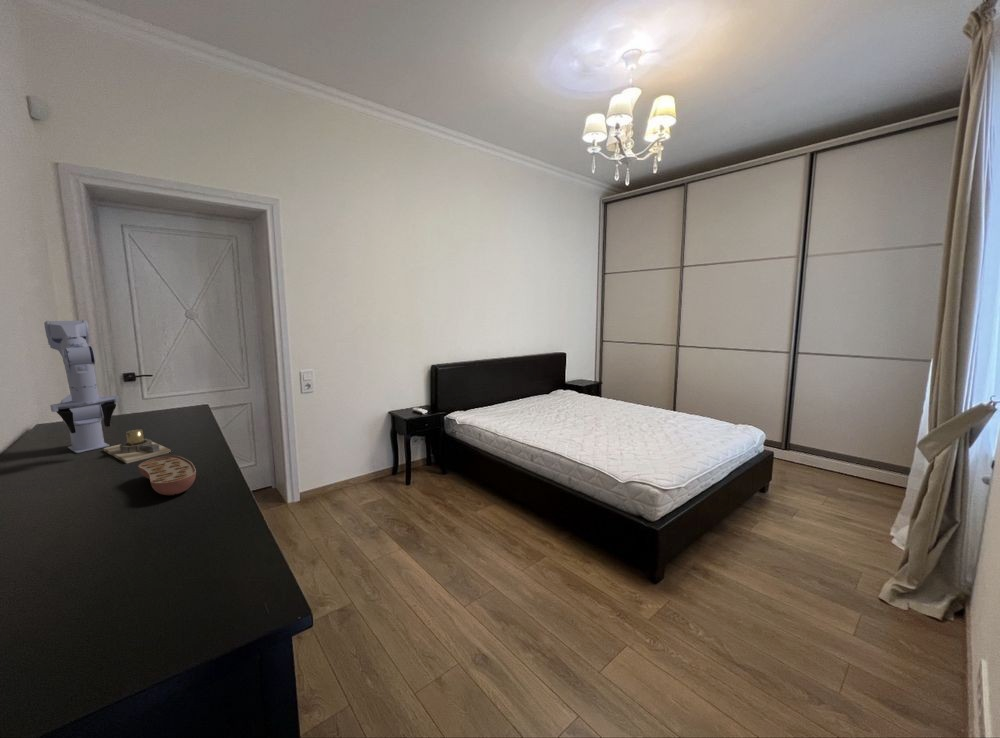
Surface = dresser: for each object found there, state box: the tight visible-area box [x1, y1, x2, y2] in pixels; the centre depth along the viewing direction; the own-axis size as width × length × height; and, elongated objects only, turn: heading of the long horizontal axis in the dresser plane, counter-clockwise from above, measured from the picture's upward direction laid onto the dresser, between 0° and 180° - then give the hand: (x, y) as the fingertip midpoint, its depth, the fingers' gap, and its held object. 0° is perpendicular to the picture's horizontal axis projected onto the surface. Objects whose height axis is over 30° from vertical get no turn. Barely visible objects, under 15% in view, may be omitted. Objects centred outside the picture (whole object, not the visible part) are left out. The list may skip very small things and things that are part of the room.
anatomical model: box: [138, 455, 197, 496], centre depth 106 cm, size 23×10×5 cm, turn 51°
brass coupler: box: [125, 428, 145, 446], centre depth 130 cm, size 4×4×6 cm
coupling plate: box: [103, 438, 171, 464], centre depth 130 cm, size 20×11×3 cm, turn 59°
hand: (90, 429), depth 123 cm, fingers open, 7 cm apart
